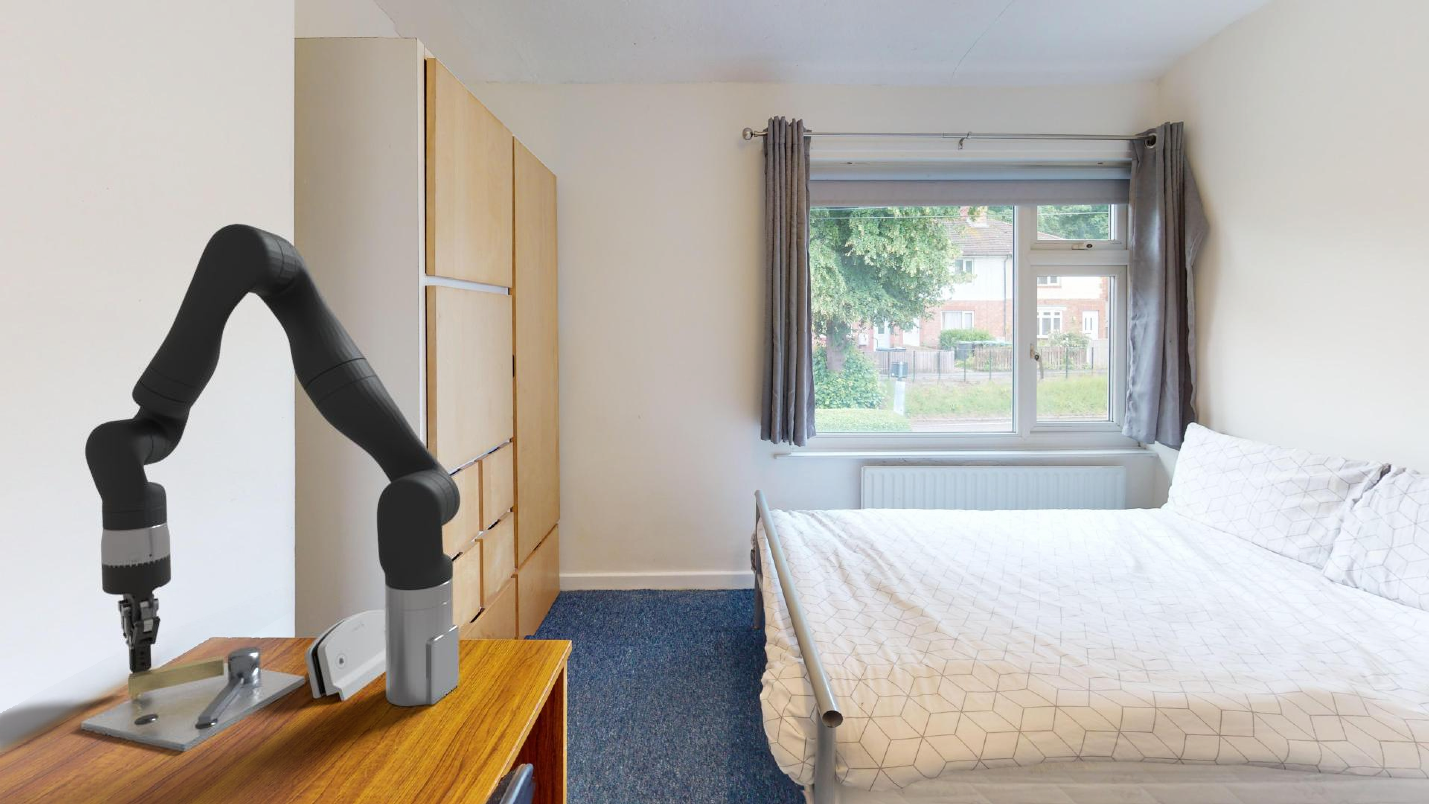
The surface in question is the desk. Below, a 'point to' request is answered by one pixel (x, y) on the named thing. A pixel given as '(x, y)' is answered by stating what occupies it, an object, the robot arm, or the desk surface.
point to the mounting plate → (197, 705)
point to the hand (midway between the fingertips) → (140, 669)
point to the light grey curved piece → (348, 655)
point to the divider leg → (174, 675)
